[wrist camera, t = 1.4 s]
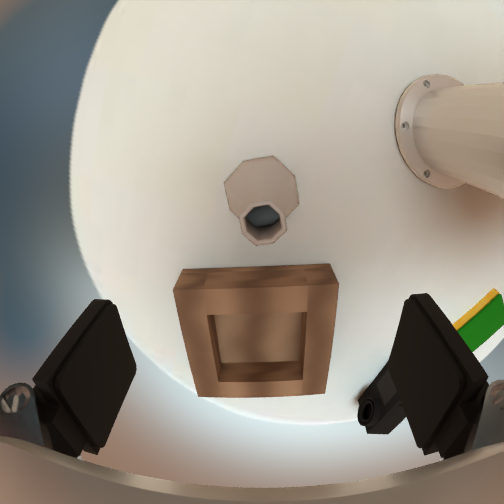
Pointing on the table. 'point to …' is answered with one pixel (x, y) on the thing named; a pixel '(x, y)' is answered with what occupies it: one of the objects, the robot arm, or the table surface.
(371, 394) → the digital camera
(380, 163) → the table surface
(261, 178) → the flask
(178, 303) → the condiment dock
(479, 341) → the dish sponge
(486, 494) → the robot arm
